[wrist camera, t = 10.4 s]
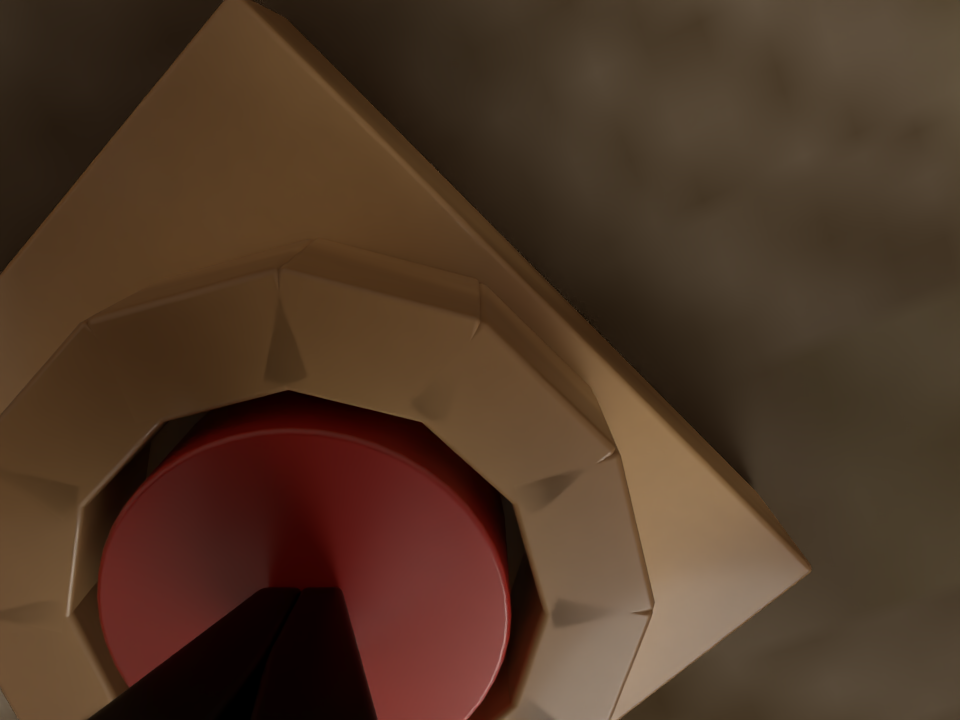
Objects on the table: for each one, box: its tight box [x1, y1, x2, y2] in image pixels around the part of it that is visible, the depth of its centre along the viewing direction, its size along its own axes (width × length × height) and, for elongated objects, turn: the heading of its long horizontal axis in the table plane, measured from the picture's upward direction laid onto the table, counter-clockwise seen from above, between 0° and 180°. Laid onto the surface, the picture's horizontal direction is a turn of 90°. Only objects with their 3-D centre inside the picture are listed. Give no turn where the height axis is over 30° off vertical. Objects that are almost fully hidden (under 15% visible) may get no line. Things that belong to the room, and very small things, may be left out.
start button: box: [97, 390, 512, 720], centre depth 9 cm, size 4×4×2 cm
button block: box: [0, 0, 812, 720], centre depth 10 cm, size 10×8×4 cm
